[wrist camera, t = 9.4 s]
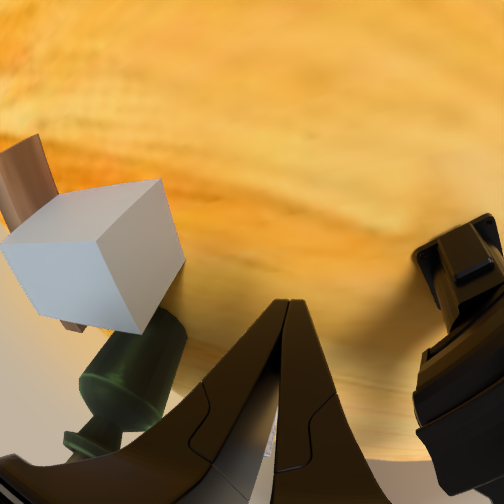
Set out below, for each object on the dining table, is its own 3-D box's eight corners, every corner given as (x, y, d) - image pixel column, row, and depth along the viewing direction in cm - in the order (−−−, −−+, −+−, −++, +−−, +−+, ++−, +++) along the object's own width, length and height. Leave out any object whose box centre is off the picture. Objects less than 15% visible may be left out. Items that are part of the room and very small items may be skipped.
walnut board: (38, 133, 21) (-5, 156, 17) (106, 298, 31) (82, 333, 27) (22, 140, 21) (-18, 163, 17) (89, 296, 31) (65, 329, 27)
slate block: (161, 177, 21) (95, 241, 15) (185, 259, 25) (141, 334, 19) (59, 193, 24) (-2, 244, 18) (87, 258, 28) (39, 314, 22)
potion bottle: (111, 310, 32) (27, 449, 17) (152, 285, 28) (51, 464, 13) (163, 356, 35) (101, 493, 20) (211, 341, 31) (147, 512, 16)
